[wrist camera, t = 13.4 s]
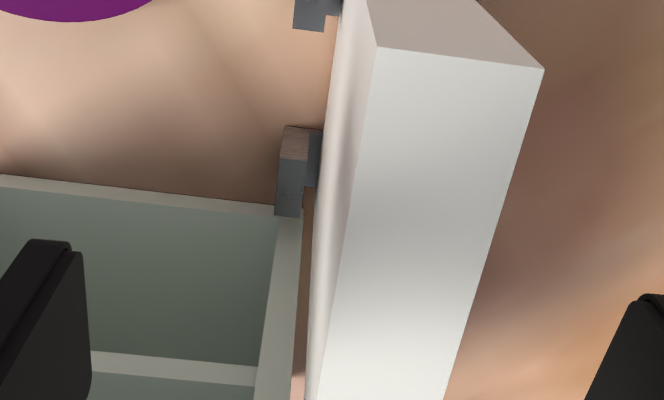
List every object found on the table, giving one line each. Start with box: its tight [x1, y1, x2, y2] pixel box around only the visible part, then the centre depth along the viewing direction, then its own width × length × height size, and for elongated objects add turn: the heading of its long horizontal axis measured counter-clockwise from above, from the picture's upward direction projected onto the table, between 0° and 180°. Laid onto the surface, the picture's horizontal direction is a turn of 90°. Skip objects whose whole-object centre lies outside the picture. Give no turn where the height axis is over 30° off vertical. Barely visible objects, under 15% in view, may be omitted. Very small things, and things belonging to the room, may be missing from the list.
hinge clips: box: [274, 0, 477, 218], centre depth 22 cm, size 9×5×4 cm, turn 172°
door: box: [304, 0, 545, 400], centre depth 17 cm, size 10×3×14 cm, turn 172°
